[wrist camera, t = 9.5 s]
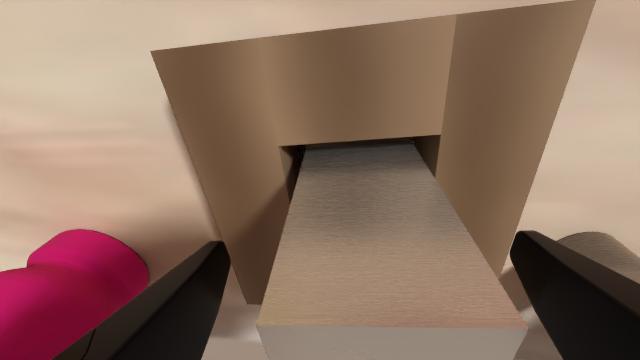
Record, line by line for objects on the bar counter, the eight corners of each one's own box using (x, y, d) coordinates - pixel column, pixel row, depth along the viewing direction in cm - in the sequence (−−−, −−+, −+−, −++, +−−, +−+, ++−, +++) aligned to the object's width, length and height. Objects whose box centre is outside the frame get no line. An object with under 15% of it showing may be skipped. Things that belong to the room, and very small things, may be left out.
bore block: (523, 6, 9) (596, -3, 6) (464, 255, 15) (490, 303, 12) (197, 45, 10) (149, 50, 8) (261, 260, 16) (247, 304, 14)
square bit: (401, 125, 11) (528, 328, 4) (396, 200, 13) (473, 435, 6) (311, 131, 12) (256, 325, 4) (319, 203, 14) (292, 426, 6)
